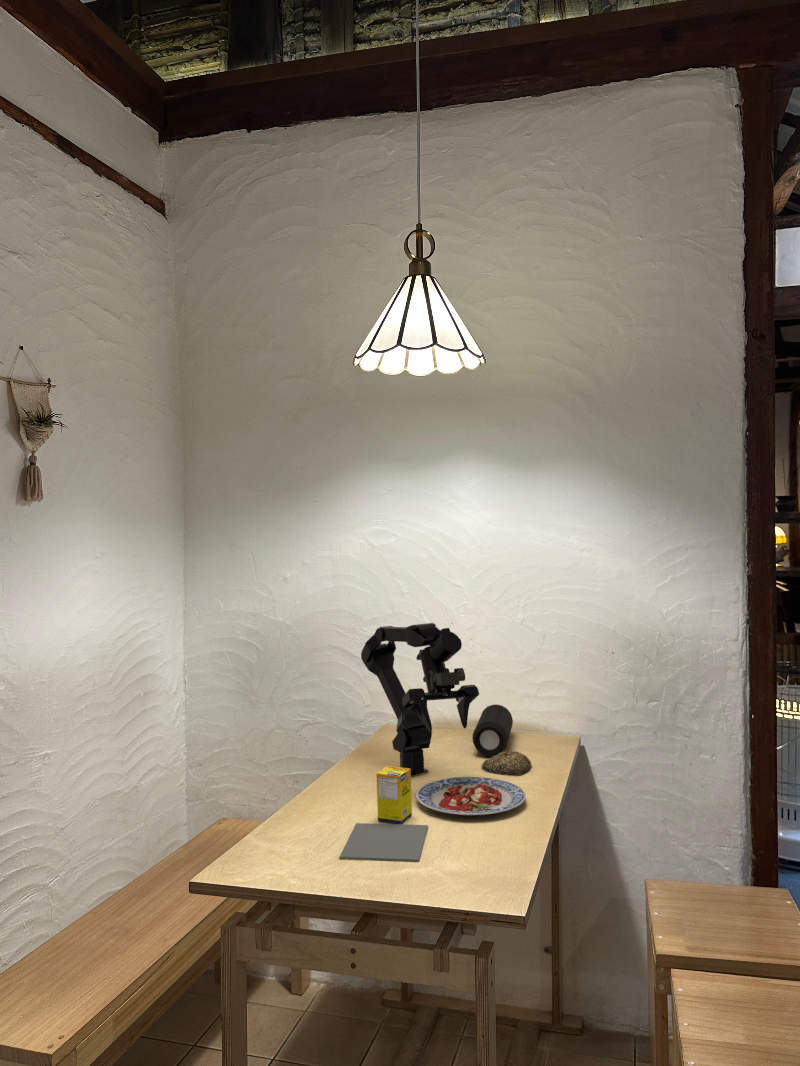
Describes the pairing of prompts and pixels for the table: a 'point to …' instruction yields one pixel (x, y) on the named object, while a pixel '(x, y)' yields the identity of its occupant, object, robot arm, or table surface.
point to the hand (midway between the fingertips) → (448, 729)
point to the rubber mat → (385, 842)
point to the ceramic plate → (470, 795)
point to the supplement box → (394, 794)
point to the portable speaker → (493, 730)
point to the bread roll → (507, 763)
